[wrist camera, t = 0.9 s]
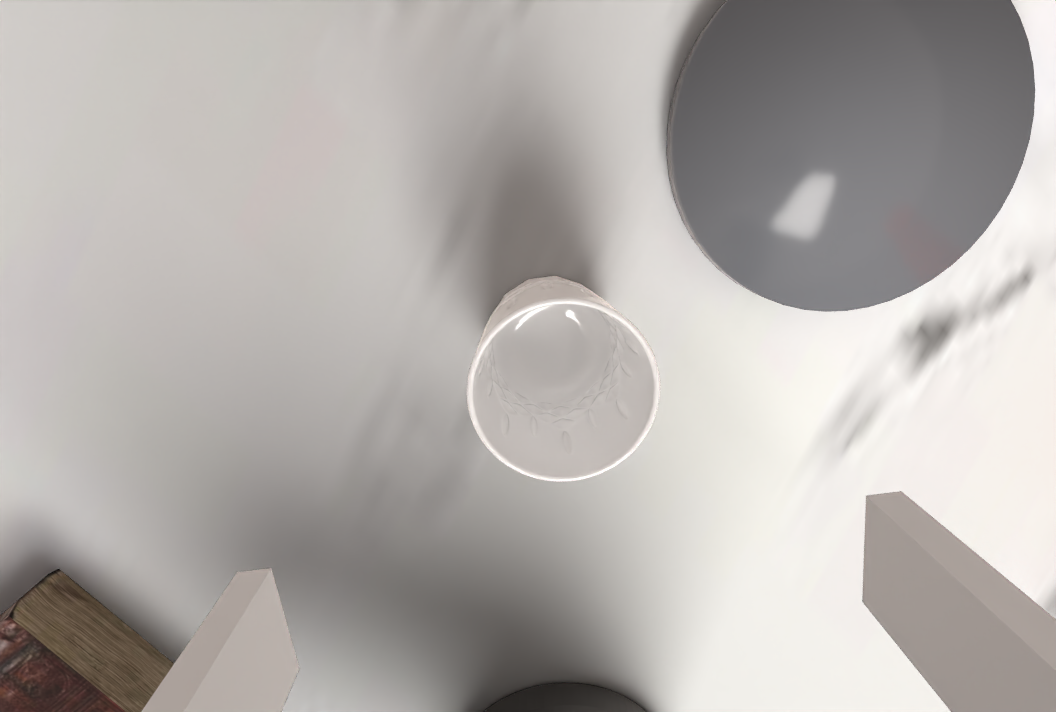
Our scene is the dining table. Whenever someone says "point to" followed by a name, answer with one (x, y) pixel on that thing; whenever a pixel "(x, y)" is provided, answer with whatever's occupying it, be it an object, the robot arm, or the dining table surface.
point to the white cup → (561, 382)
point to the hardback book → (73, 654)
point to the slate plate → (848, 141)
